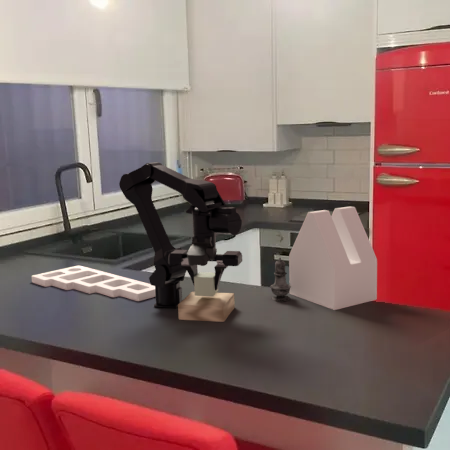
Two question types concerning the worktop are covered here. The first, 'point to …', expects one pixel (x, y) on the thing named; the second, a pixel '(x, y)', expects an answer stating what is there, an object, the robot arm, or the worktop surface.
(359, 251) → the milk carton
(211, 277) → the sage cube
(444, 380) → the worktop surface
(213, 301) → the oak riser block
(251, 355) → the worktop surface
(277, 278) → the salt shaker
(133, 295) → the holder
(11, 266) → the worktop surface
